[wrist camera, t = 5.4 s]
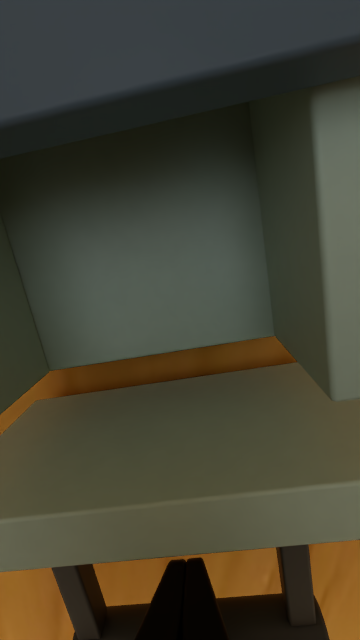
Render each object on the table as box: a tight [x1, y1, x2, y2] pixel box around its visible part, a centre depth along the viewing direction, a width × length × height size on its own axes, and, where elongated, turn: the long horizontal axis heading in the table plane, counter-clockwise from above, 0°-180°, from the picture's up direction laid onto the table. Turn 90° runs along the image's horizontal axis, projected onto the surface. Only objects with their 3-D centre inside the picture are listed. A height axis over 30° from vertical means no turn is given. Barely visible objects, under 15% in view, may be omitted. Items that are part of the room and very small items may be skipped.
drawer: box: [0, 76, 360, 640], centre depth 7 cm, size 18×9×5 cm, turn 10°
